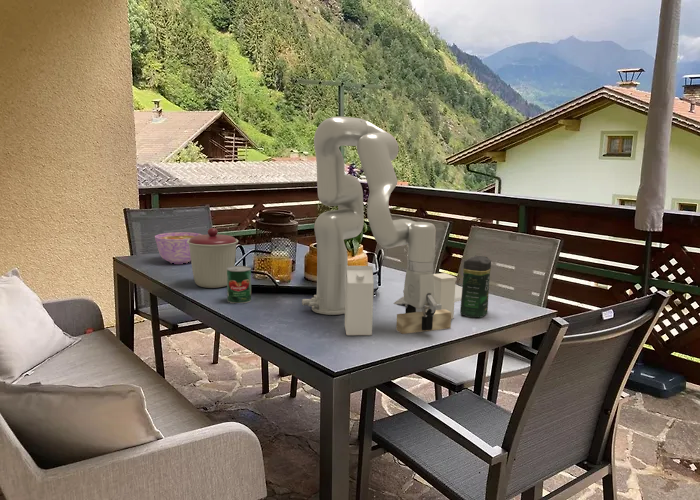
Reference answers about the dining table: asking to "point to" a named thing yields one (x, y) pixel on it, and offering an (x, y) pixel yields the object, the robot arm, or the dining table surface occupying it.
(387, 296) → the dining table surface
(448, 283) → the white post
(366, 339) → the dining table surface
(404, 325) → the birch rail
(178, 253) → the bowl of food
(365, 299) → the milk carton
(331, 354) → the dining table surface
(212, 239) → the canister
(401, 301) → the crown molding
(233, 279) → the canned tomato
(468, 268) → the coffee jar
